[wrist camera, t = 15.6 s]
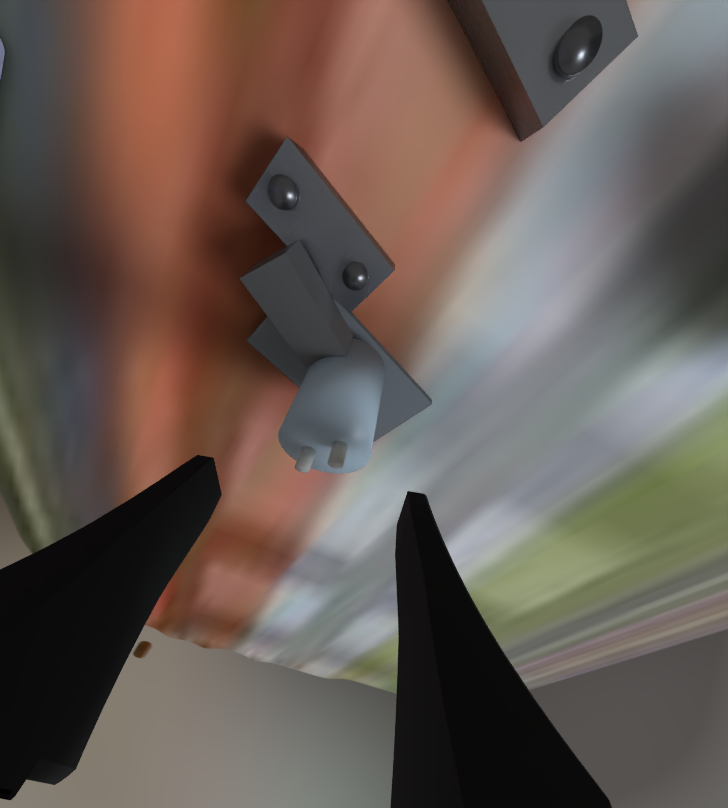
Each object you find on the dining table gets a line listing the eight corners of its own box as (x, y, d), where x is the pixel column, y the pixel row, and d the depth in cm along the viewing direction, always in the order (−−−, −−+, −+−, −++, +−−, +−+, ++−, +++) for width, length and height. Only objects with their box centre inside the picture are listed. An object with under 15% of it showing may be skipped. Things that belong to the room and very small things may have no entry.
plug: (243, 270, 14) (145, 354, 9) (315, 229, 12) (240, 307, 7) (337, 400, 20) (306, 493, 15) (396, 385, 18) (382, 487, 13)
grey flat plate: (250, 337, 18) (246, 340, 18) (310, 267, 16) (307, 269, 15) (366, 441, 22) (366, 446, 21) (431, 399, 19) (432, 404, 19)
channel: (265, 203, 14) (241, 200, 12) (509, -154, 9) (547, -282, 6) (354, 303, 16) (348, 315, 14) (597, 67, 11) (647, 28, 9)
